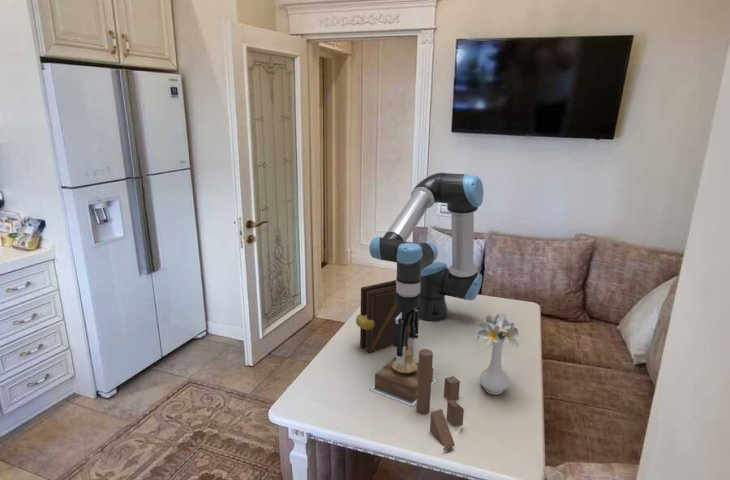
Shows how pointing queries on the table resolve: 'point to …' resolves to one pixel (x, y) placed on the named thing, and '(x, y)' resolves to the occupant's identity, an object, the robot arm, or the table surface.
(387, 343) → the book
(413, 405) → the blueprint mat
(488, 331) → the flower vase
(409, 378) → the walnut plinth
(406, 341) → the hand bell
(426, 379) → the wooden blocks
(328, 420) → the table surface
